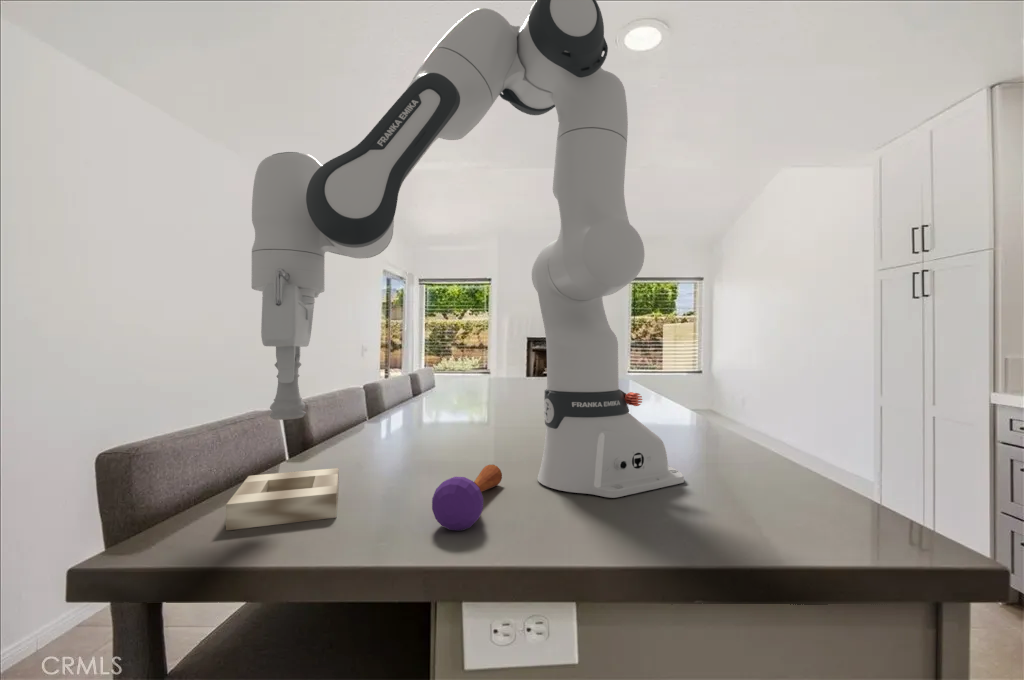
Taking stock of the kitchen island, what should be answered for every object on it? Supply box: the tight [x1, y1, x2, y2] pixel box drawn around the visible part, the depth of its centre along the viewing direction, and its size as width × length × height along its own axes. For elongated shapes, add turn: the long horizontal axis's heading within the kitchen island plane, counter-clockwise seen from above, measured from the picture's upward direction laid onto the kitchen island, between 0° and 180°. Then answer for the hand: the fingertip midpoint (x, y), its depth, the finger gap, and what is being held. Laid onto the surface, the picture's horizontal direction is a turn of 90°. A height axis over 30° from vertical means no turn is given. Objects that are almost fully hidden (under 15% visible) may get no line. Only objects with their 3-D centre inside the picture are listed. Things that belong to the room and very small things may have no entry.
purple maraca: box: [431, 464, 503, 531], centre depth 62 cm, size 6×6×20 cm
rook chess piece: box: [269, 357, 307, 421], centre depth 63 cm, size 4×4×8 cm
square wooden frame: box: [225, 467, 340, 531], centre depth 63 cm, size 12×13×3 cm
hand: (288, 381), depth 63 cm, fingers closed on rook chess piece, 3 cm apart
